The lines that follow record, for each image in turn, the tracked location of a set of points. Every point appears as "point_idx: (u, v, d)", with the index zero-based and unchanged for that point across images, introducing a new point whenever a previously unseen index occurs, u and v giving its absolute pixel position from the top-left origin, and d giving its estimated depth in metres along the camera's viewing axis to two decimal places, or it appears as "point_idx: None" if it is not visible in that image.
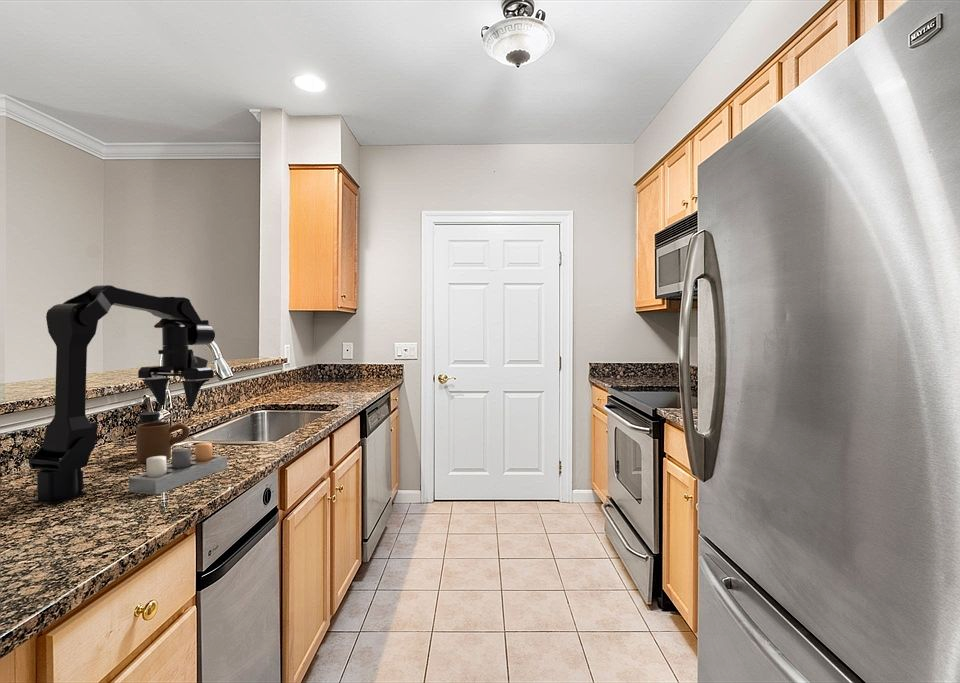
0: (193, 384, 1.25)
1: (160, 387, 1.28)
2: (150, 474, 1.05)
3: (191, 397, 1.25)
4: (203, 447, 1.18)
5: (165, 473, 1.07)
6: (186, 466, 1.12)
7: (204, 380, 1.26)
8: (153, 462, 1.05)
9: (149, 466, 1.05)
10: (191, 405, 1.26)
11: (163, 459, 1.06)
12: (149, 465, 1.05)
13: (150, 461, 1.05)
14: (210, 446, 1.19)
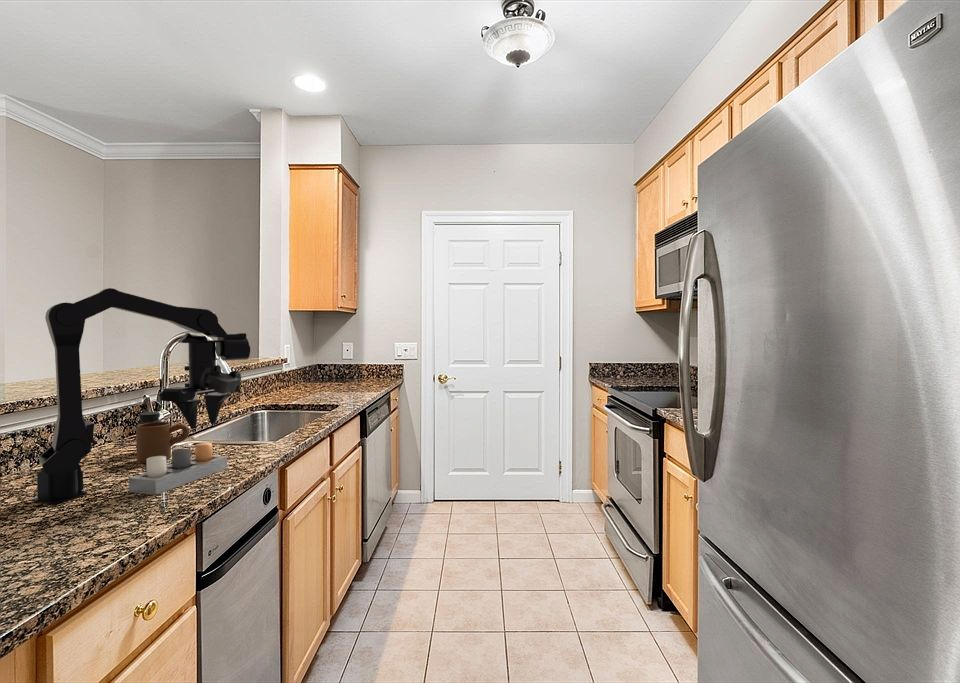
0: (187, 404, 1.15)
1: (212, 404, 1.22)
2: (150, 474, 1.05)
3: (187, 418, 1.15)
4: (203, 447, 1.18)
5: (165, 473, 1.07)
6: (186, 466, 1.12)
7: (184, 402, 1.13)
8: (153, 462, 1.05)
9: (149, 466, 1.05)
10: (192, 427, 1.16)
11: (163, 459, 1.06)
12: (149, 465, 1.05)
13: (150, 461, 1.05)
14: (210, 446, 1.19)
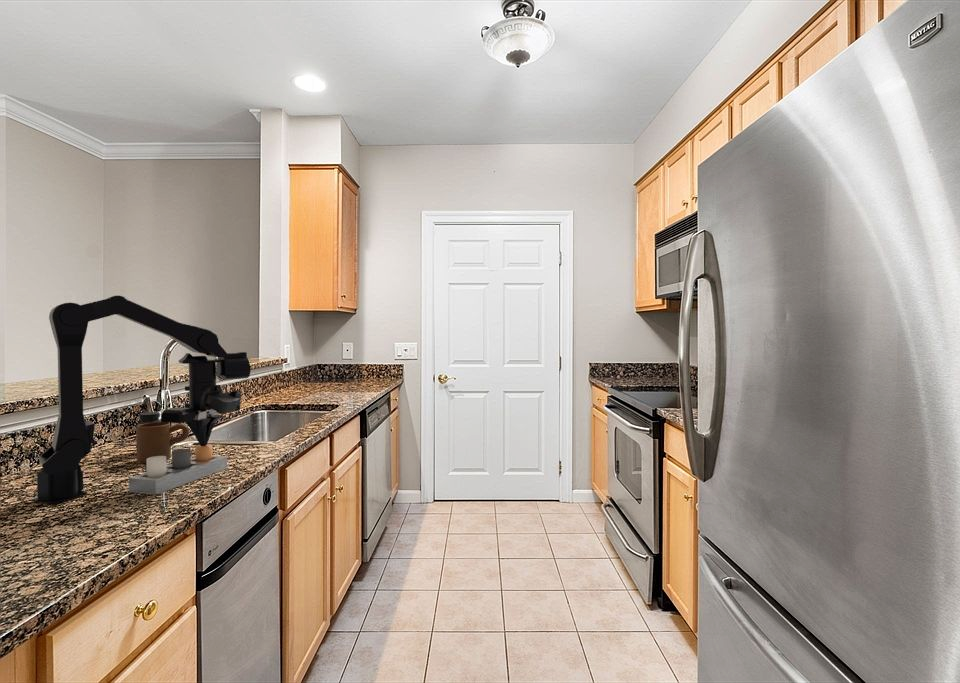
0: (197, 422, 1.18)
1: None
2: (150, 474, 1.05)
3: (197, 436, 1.18)
4: (203, 449, 1.18)
5: (165, 473, 1.07)
6: (186, 466, 1.12)
7: (194, 420, 1.15)
8: (153, 462, 1.05)
9: (149, 466, 1.05)
10: (201, 444, 1.19)
11: (163, 459, 1.06)
12: (149, 465, 1.05)
13: (150, 461, 1.05)
14: (210, 448, 1.19)
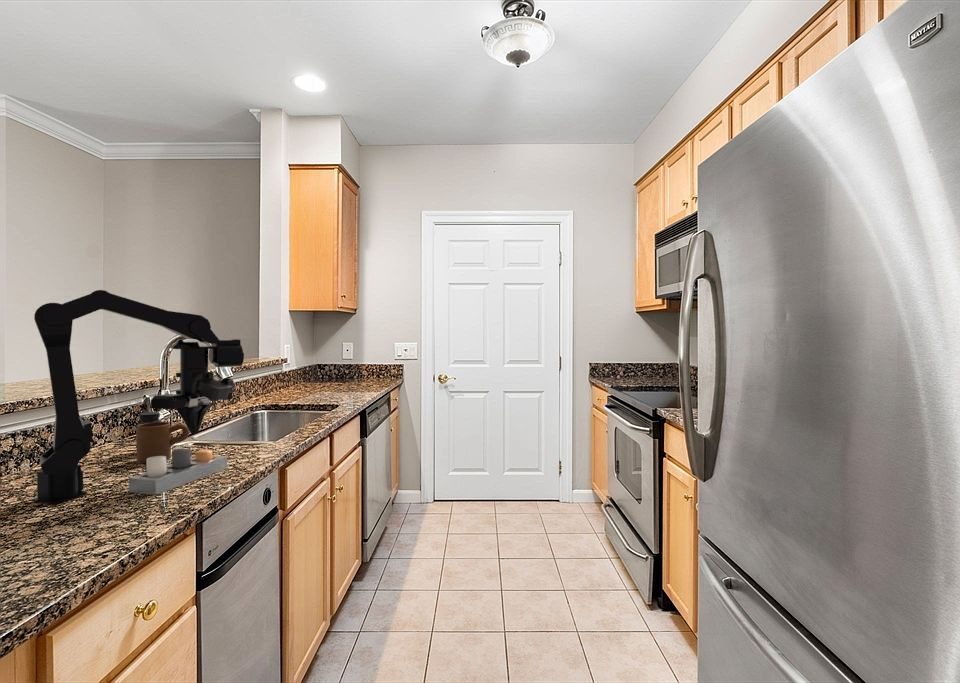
0: (188, 410, 1.15)
1: None
2: (150, 474, 1.05)
3: (188, 424, 1.16)
4: (203, 454, 1.18)
5: (165, 473, 1.07)
6: (186, 466, 1.12)
7: (185, 407, 1.13)
8: (153, 462, 1.05)
9: (149, 466, 1.05)
10: (192, 432, 1.16)
11: (163, 459, 1.06)
12: (149, 465, 1.05)
13: (150, 461, 1.05)
14: (210, 453, 1.19)
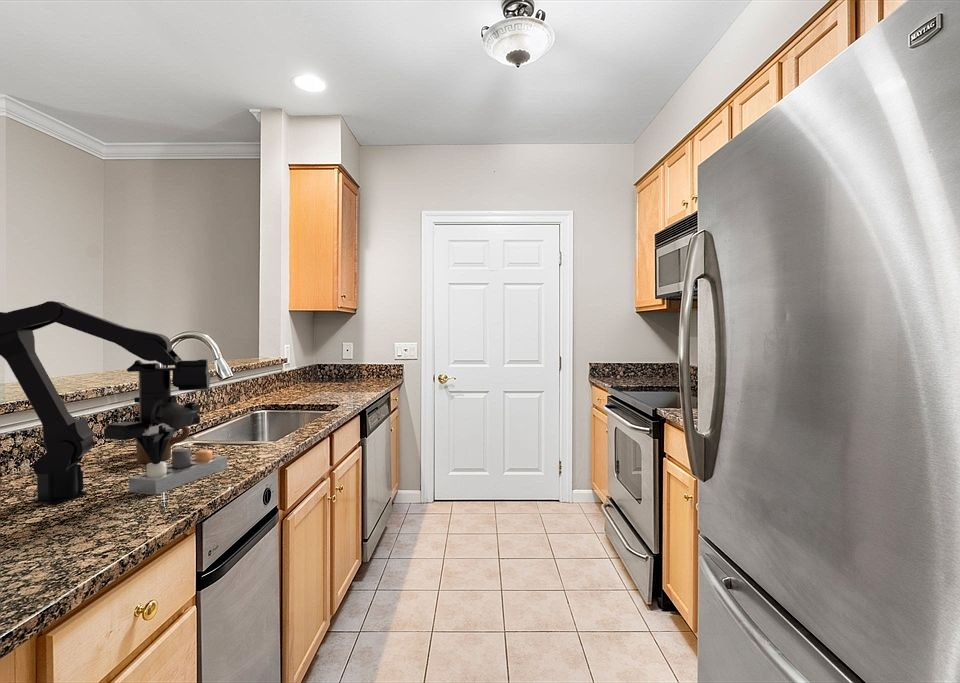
0: (149, 438, 1.05)
1: None
2: None
3: (148, 453, 1.06)
4: (203, 454, 1.18)
5: None
6: (186, 466, 1.12)
7: (144, 436, 1.03)
8: (153, 468, 1.05)
9: (149, 472, 1.05)
10: (153, 462, 1.06)
11: (163, 465, 1.06)
12: (149, 471, 1.05)
13: (150, 467, 1.05)
14: (210, 453, 1.19)
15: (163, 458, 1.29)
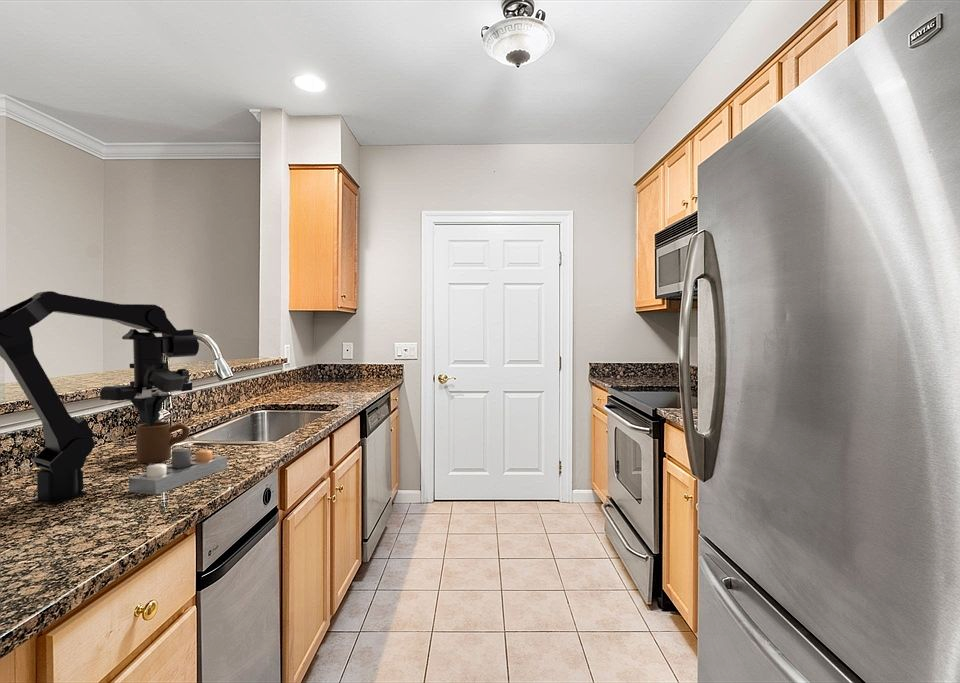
0: (143, 401, 1.13)
1: None
2: None
3: (143, 415, 1.14)
4: (203, 454, 1.18)
5: None
6: (186, 466, 1.12)
7: (138, 399, 1.11)
8: (153, 470, 1.05)
9: (149, 474, 1.05)
10: (148, 424, 1.14)
11: (163, 467, 1.06)
12: (149, 474, 1.05)
13: (150, 469, 1.05)
14: (210, 453, 1.19)
15: (163, 458, 1.29)
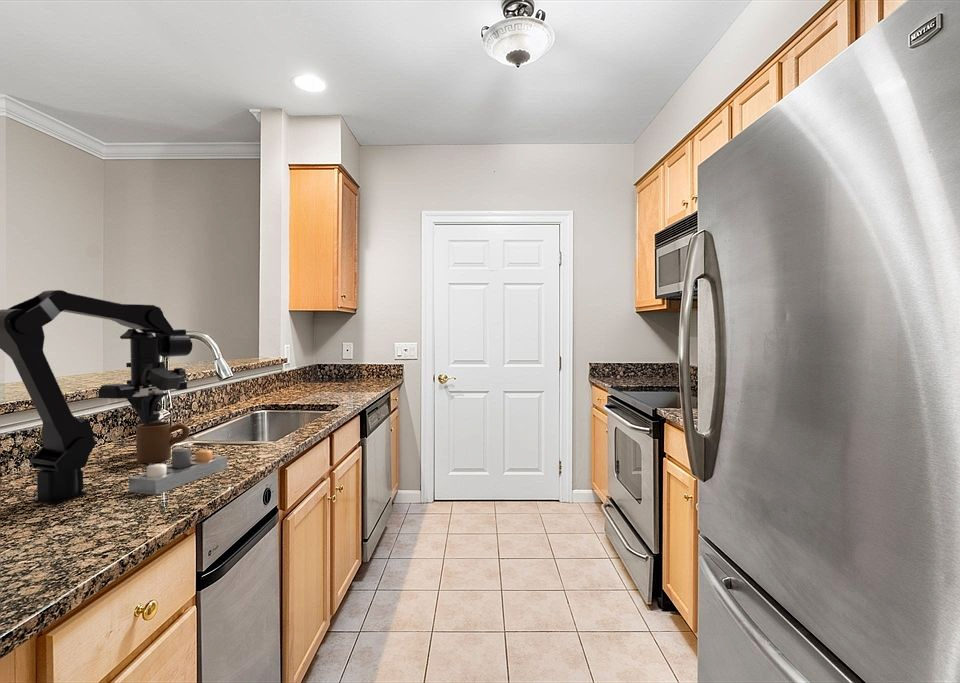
0: (139, 400, 1.16)
1: None
2: None
3: (139, 413, 1.16)
4: (203, 454, 1.18)
5: None
6: (186, 466, 1.12)
7: (135, 397, 1.13)
8: (153, 470, 1.05)
9: (149, 474, 1.05)
10: (144, 422, 1.17)
11: (163, 467, 1.06)
12: (149, 474, 1.05)
13: (150, 469, 1.05)
14: (210, 453, 1.19)
15: (163, 458, 1.29)
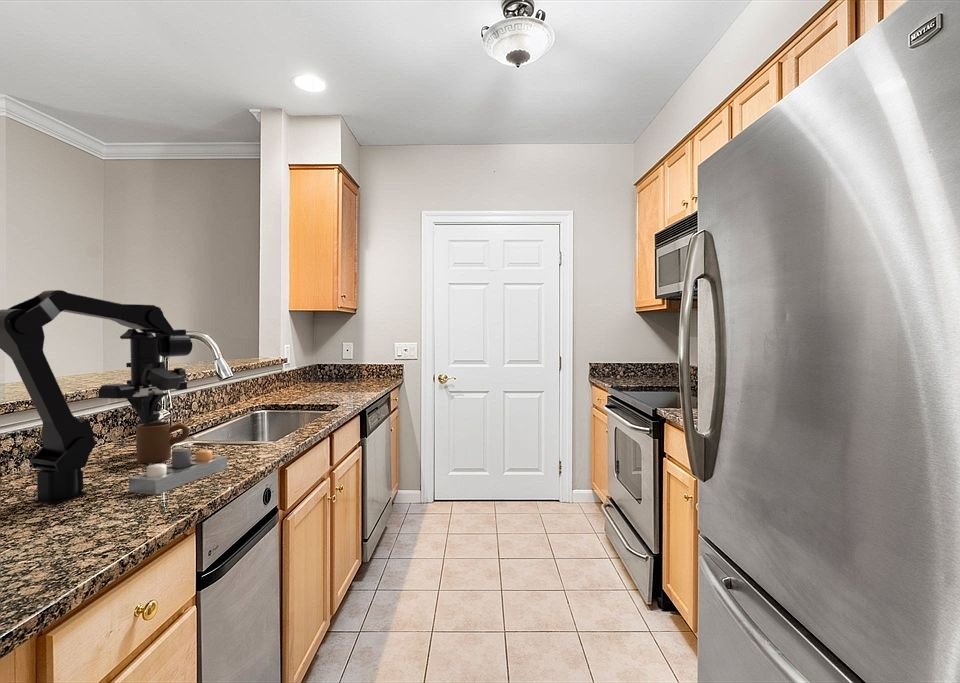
0: (139, 400, 1.16)
1: None
2: None
3: (139, 413, 1.16)
4: (203, 454, 1.18)
5: None
6: (186, 466, 1.12)
7: (135, 397, 1.13)
8: (153, 470, 1.05)
9: (149, 474, 1.05)
10: (144, 422, 1.17)
11: (163, 467, 1.06)
12: (149, 474, 1.05)
13: (150, 469, 1.05)
14: (210, 453, 1.19)
15: (163, 458, 1.29)
